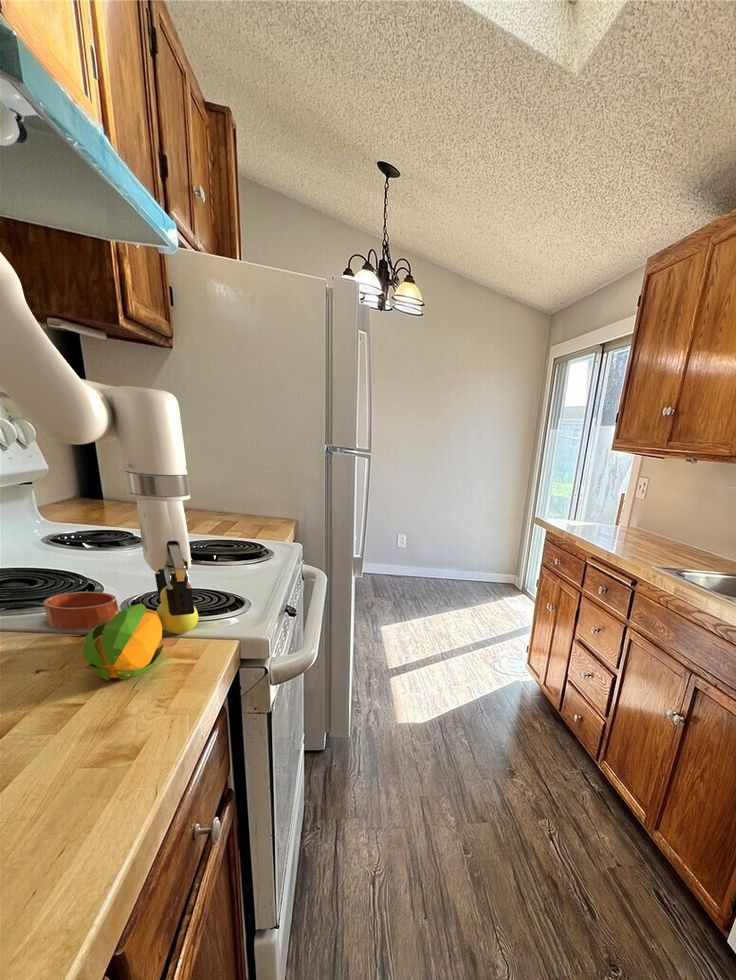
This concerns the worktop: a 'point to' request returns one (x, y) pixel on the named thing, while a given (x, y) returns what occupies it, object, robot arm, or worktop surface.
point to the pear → (175, 617)
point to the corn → (124, 643)
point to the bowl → (80, 610)
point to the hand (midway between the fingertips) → (176, 605)
